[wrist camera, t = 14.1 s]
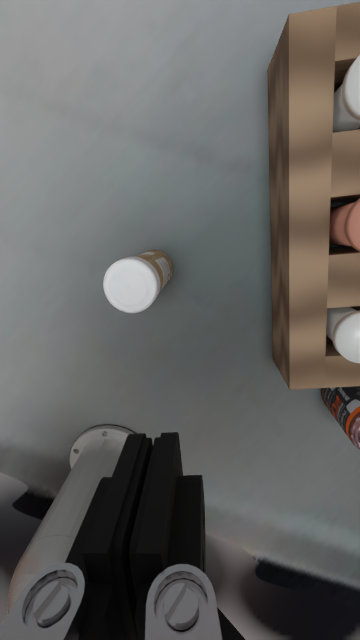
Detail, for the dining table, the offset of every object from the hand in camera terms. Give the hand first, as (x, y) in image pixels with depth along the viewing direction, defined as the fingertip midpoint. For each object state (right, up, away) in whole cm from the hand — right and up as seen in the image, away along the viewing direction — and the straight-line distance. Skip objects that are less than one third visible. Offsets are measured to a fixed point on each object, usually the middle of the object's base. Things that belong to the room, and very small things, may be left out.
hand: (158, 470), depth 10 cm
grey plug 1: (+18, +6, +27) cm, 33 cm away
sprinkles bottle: (-2, +11, +27) cm, 30 cm away
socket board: (+17, +16, +24) cm, 34 cm away
